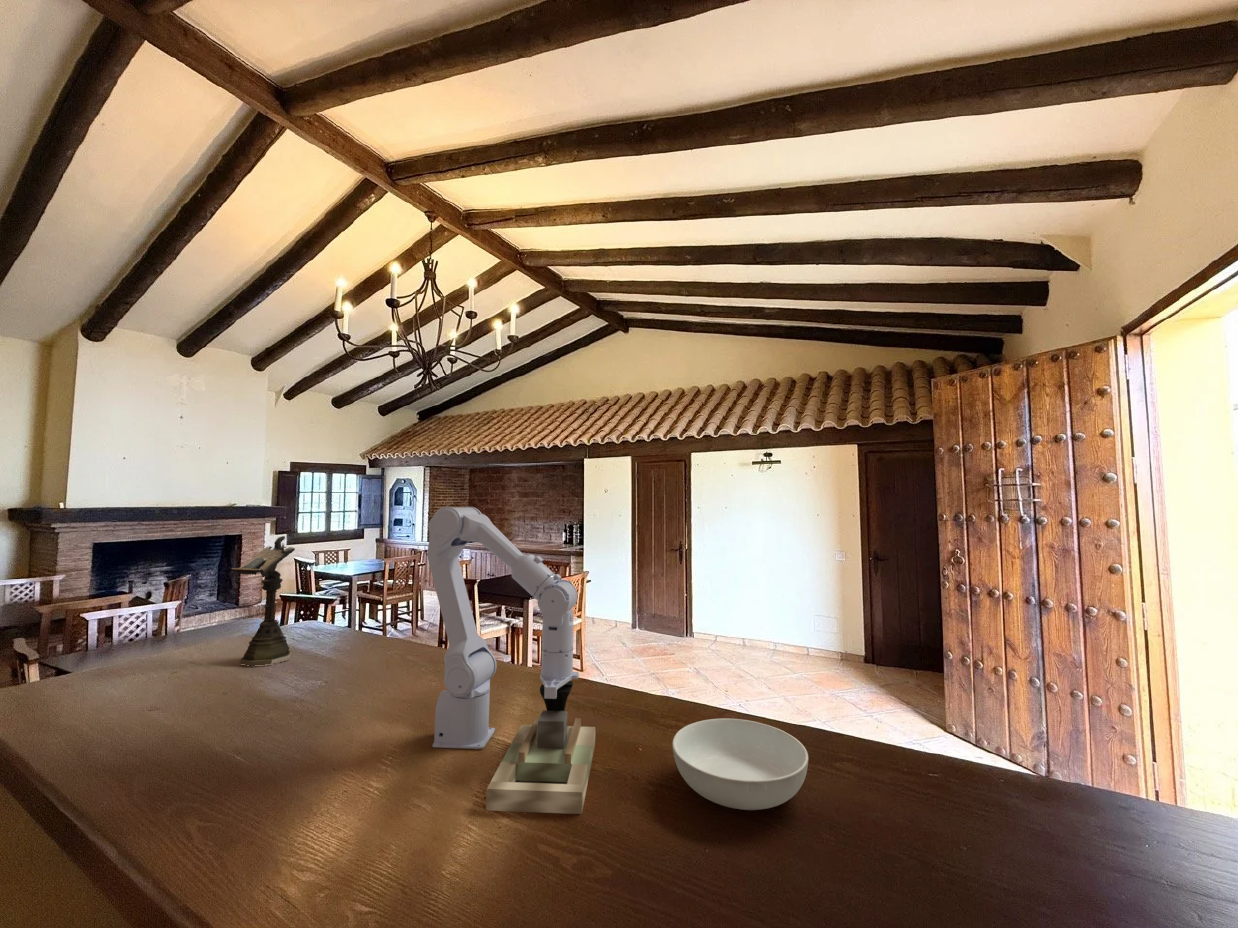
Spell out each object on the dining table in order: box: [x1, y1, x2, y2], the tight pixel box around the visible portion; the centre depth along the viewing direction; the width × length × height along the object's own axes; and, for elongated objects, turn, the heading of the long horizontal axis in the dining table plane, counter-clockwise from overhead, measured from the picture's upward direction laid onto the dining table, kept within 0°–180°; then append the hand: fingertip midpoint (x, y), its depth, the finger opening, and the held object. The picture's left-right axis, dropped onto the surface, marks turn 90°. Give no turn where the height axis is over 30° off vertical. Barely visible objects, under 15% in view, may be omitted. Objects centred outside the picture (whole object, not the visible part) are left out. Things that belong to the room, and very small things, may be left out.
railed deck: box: [485, 716, 596, 815], centre depth 85 cm, size 14×22×4 cm, turn 178°
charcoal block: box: [537, 709, 568, 749], centre depth 90 cm, size 4×4×4 cm
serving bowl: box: [671, 717, 809, 811], centre depth 81 cm, size 21×21×7 cm
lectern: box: [229, 535, 296, 666], centre depth 142 cm, size 17×13×35 cm
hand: (555, 725), depth 93 cm, fingers closed
